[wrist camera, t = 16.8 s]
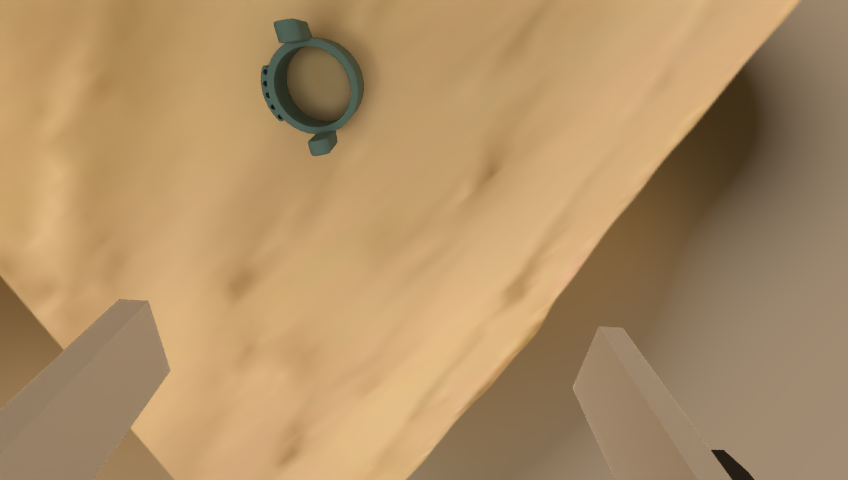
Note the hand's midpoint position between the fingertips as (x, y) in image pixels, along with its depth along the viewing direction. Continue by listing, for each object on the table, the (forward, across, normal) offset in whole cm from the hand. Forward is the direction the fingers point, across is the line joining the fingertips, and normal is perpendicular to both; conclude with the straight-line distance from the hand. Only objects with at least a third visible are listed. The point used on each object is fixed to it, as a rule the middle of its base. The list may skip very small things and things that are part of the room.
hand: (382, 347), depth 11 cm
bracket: (+34, -9, +3) cm, 35 cm away
